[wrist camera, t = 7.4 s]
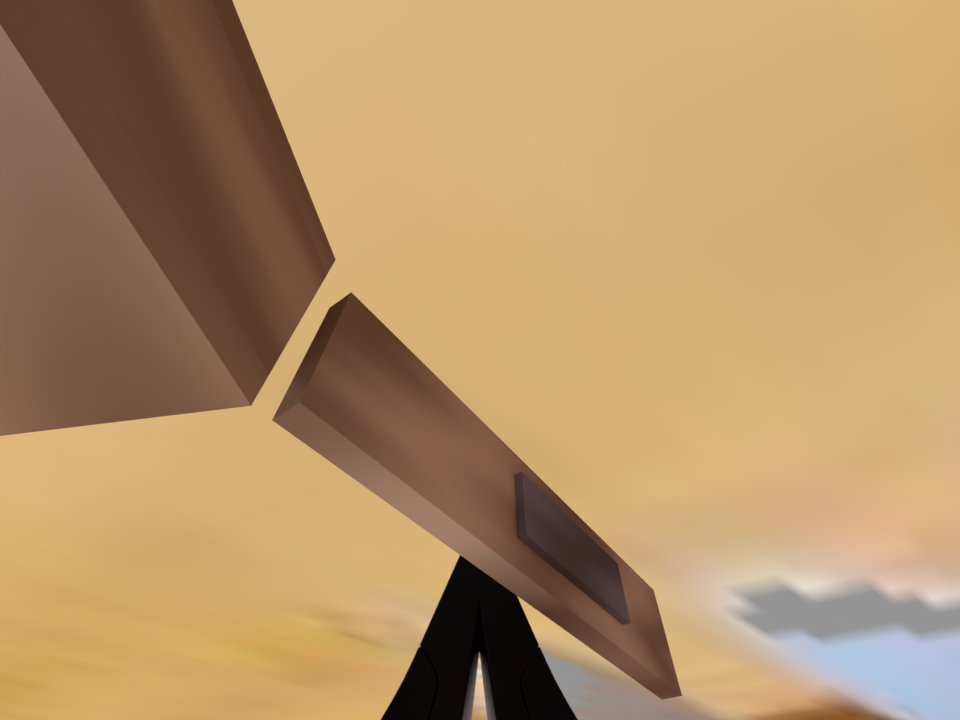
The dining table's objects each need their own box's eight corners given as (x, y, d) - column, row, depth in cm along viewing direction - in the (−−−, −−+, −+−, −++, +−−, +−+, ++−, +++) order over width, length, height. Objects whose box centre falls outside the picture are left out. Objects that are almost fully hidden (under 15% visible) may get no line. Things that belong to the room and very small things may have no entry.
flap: (659, 587, 16) (689, 694, 13) (636, 594, 16) (661, 699, 14) (359, 286, 9) (310, 396, 6) (328, 307, 9) (271, 420, 7)
